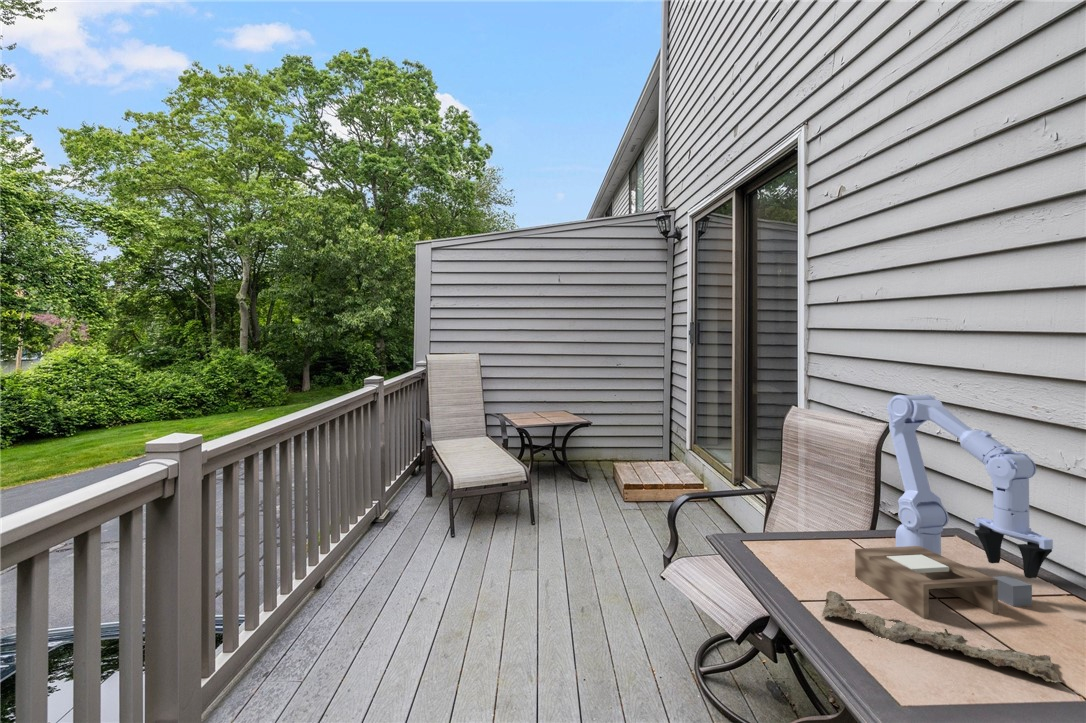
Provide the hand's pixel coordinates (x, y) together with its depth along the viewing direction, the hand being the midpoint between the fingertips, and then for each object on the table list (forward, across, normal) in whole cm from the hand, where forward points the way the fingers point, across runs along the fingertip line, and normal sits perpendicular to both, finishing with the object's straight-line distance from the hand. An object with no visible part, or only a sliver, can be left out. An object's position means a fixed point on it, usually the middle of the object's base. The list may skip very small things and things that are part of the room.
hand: (1011, 569), depth 107 cm
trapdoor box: (+7, +5, +17) cm, 19 cm away
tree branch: (+8, -11, +32) cm, 34 cm away
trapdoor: (+1, +6, +17) cm, 18 cm away
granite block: (+7, 0, 0) cm, 7 cm away
